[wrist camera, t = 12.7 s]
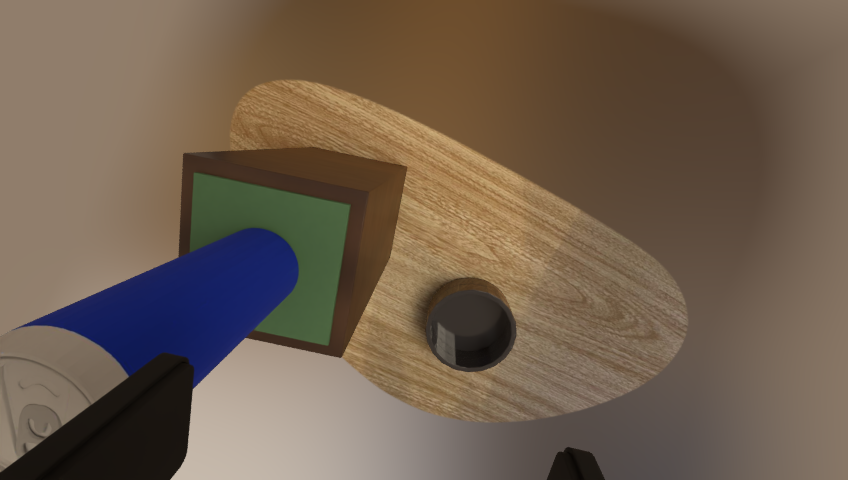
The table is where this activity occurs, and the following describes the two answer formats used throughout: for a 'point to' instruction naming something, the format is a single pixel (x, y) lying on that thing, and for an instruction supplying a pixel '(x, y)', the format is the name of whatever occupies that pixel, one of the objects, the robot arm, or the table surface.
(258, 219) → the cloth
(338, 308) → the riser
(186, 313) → the beverage can
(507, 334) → the bowl
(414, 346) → the table surface
